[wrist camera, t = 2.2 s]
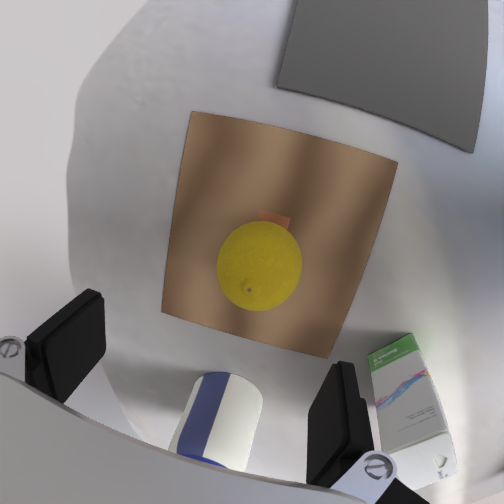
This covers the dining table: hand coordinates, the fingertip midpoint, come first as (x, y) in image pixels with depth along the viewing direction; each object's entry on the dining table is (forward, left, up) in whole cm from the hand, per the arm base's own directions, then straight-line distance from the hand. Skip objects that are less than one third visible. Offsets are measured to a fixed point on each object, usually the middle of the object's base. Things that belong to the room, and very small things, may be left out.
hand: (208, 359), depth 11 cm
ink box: (-17, +9, -15) cm, 24 cm away
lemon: (-1, 0, -14) cm, 14 cm away
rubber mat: (-7, -20, -14) cm, 26 cm away
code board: (-1, 0, -14) cm, 14 cm away
